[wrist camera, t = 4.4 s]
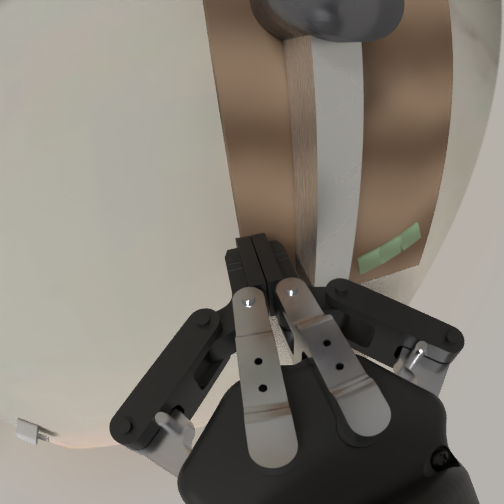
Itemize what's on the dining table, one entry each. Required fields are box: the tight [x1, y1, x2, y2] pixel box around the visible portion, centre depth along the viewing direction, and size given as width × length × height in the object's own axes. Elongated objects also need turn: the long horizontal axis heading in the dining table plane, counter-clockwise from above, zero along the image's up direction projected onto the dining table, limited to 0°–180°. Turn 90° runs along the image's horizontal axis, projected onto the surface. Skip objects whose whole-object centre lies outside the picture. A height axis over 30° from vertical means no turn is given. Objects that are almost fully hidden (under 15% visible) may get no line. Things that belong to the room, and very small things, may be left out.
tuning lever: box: [250, 0, 405, 287], centre depth 11 cm, size 17×4×4 cm, turn 7°
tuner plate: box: [203, 0, 453, 284], centre depth 13 cm, size 22×14×2 cm, turn 7°
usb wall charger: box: [16, 418, 49, 445], centre depth 32 cm, size 4×7×4 cm, turn 55°
